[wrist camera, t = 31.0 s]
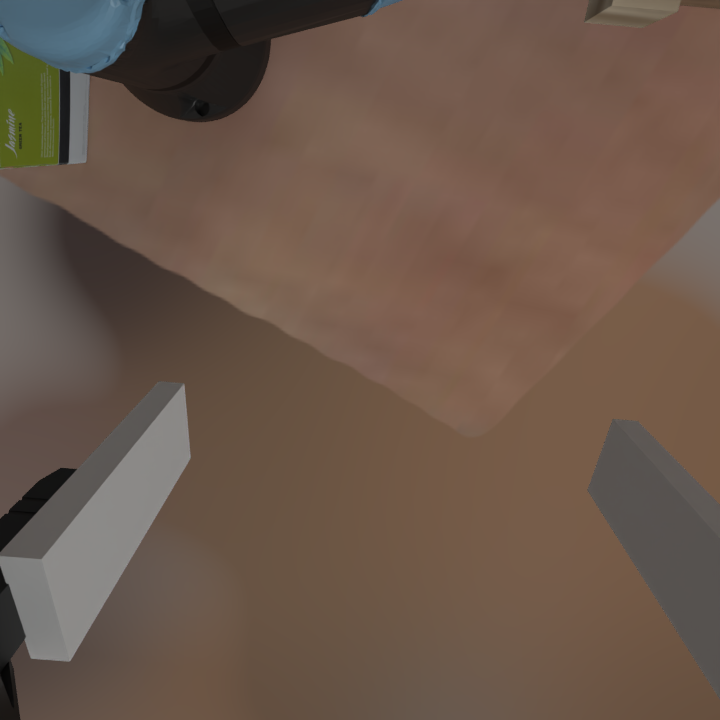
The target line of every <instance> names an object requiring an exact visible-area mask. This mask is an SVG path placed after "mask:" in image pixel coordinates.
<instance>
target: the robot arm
mask: <svg viewBox="0 0 720 720" xmlns="http://www.w3.org/2000/svg"><path fill="white" fill-rule="evenodd" d="M399 1H402V0H0V37H1V38H2V39H3V40H5V41H6V42H8V43H9V44H11V45H13V46H14V47H16V48H17V49H19V50H21V51H23V52H25V53H27V54H29V55H31V56H33V57H35V58H38V59H40V60H42V61H43V62H45V63H47V64H48V65H51V66H53V67H54V68H58V69H62V70H64V71H66V72H68V71H71V72H73V73H75V74H77V73H84V74H87V75H91V76H95V77H99V78H103V79H107V80H111V81H115V82H119V83H123V84H124V86H125V87H126V88H127V89H128V90H129V91H130V92H131V93H132V94H133V95H134V96H135V97H137V98H138V99H139V100H140V101H141V102H143V103H144V104H146V105H147V106H149V107H150V108H152V109H154V110H155V111H157V112H159V113H161V114H164V115H166V116H169V117H172V118H175V119H180V120H185V121H192V122H208V121H214V120H218V119H221V118H224V117H226V116H228V115H230V114H232V113H234V112H235V111H237V110H238V109H240V108H241V107H242V106H243V105H244V104H245V103H246V102H247V101H248V100H249V99H250V98H251V97H252V96H253V94H254V93H255V91H256V90H257V88H258V86H259V85H260V83H261V81H262V79H263V76H264V74H265V71H266V67H267V64H268V60H269V54H270V46H271V39H273V38H277V37H281V36H285V35H288V34H292V33H296V32H300V31H304V30H308V29H312V28H316V27H319V26H323V25H327V24H331V23H335V22H339V21H343V20H347V19H350V18H354V17H358V16H361V17H366V16H368V15H372V14H373V13H375V12H376V11H377V10H378V9H379V8H382V7H385V6H388V5H391V4H393V3H396V2H399ZM190 458H191V457H190V445H189V434H188V423H187V411H186V399H185V387H184V384H183V383H172V382H161V381H159V382H158V383H157V384H156V385H155V386H154V387H153V388H152V389H151V391H150V392H149V393H148V394H147V395H146V396H145V397H144V398H143V399H142V400H141V401H140V402H139V403H138V404H137V406H136V407H135V408H134V409H133V410H132V411H131V412H130V413H129V414H128V415H127V417H125V418H124V419H123V421H122V422H121V423H120V424H119V425H118V426H117V427H116V428H115V429H114V430H113V431H112V432H111V433H110V435H109V436H108V437H107V438H106V439H105V440H104V441H103V442H102V443H101V444H100V445H99V446H98V448H97V449H96V450H95V451H94V452H93V453H92V454H91V455H90V456H89V457H88V459H86V460H85V462H84V463H83V464H82V465H81V466H80V467H79V468H78V469H68V468H60V469H58V470H57V471H55V472H53V473H51V474H50V475H48V476H46V477H45V478H43V479H41V480H40V481H38V482H37V483H36V484H35V485H34V486H33V487H32V488H31V489H30V490H29V491H28V492H27V493H26V494H25V495H24V496H23V497H22V500H19V501H18V502H17V503H16V504H15V505H14V506H13V507H12V508H11V509H10V510H9V513H8V514H5V515H4V516H3V517H2V518H1V519H0V720H20V714H19V706H18V699H17V691H16V684H15V676H14V668H13V666H12V663H11V660H10V659H11V657H12V656H13V654H14V653H15V652H16V650H17V649H18V648H19V646H20V645H21V643H22V642H23V641H24V639H25V642H26V645H27V648H28V651H29V654H30V657H31V658H32V659H45V660H58V661H70V660H71V659H72V657H73V655H74V654H75V652H76V650H77V648H78V647H79V645H80V644H81V642H82V640H83V639H84V637H85V635H86V633H87V632H88V630H89V628H90V627H91V625H92V623H93V622H94V620H95V618H96V617H97V615H98V613H99V612H100V610H101V608H102V607H103V605H104V603H105V601H106V600H107V598H108V596H109V595H110V593H111V591H112V590H113V588H114V586H115V585H116V583H117V581H118V579H119V578H120V576H121V574H122V573H123V571H124V569H125V568H126V566H127V564H128V563H129V561H130V559H131V558H132V556H133V554H134V553H135V551H136V549H137V547H138V546H139V544H140V542H141V541H142V539H143V537H144V536H145V534H146V532H147V531H148V529H149V527H150V526H151V524H152V522H153V521H154V519H155V517H156V515H157V514H158V512H159V510H160V509H161V507H162V505H163V503H164V502H165V500H166V499H167V497H168V495H169V493H170V492H171V490H172V489H173V487H174V485H175V483H176V482H177V480H178V478H179V477H180V475H181V473H182V471H183V470H184V468H185V467H186V465H187V463H188V461H189V460H190ZM588 492H589V493H590V495H591V497H592V498H593V500H594V501H595V503H596V505H597V506H598V508H599V509H600V511H601V513H602V514H603V516H604V517H605V519H606V520H607V522H608V523H609V525H610V527H611V528H612V530H613V531H614V533H615V535H616V536H617V538H618V539H619V541H620V543H621V544H622V546H623V547H624V549H625V550H626V552H627V553H628V555H629V557H630V558H631V560H632V561H633V563H634V565H635V566H636V568H637V569H638V571H639V573H640V574H641V576H642V577H643V579H644V580H645V582H646V584H647V585H648V587H649V588H650V590H651V591H652V593H653V595H654V596H655V598H656V599H657V601H658V602H659V604H660V606H661V607H662V609H663V610H664V612H665V614H666V615H667V617H668V618H669V620H670V621H671V623H672V624H673V626H674V628H675V629H676V631H677V632H678V634H679V636H680V637H681V639H682V640H683V642H684V643H685V645H686V646H687V648H688V650H689V651H690V653H691V654H692V656H693V658H694V659H695V661H696V662H697V664H698V666H699V667H700V669H701V670H702V672H703V674H704V675H705V677H706V678H707V680H708V681H709V683H710V685H711V686H712V687H713V689H714V691H715V692H716V694H717V696H718V697H719V699H720V504H719V503H718V502H717V501H716V500H715V499H714V498H713V497H712V496H711V495H710V494H709V493H708V492H707V491H706V490H705V489H704V488H703V487H702V486H701V485H700V484H699V483H698V482H697V481H696V480H695V479H694V478H693V477H692V476H691V475H690V474H689V473H688V472H687V471H686V470H685V469H684V468H683V467H682V466H681V465H680V464H679V463H678V462H677V461H676V460H675V459H674V458H673V457H672V456H671V455H670V454H669V453H668V452H667V451H666V450H665V448H664V447H663V446H662V445H661V444H659V442H658V441H657V440H656V439H655V438H654V437H653V436H652V435H651V434H650V433H649V432H648V431H647V430H646V429H645V428H644V427H643V426H642V425H641V424H640V423H639V422H638V421H629V420H618V419H613V420H612V423H611V426H610V429H609V431H608V434H607V437H606V440H605V442H604V445H603V448H602V451H601V454H600V456H599V460H598V462H597V465H596V468H595V470H594V473H593V476H592V479H591V482H590V484H589V487H588Z"/></svg>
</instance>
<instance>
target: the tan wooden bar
mask: <svg viewBox="0 0 720 720" xmlns="http://www.w3.org/2000/svg"><path fill="white" fill-rule="evenodd" d="M680 2H681V0H589V4H588V8H587V12H586V16H585V21H584V22H585V23H595V24H606V25H617V26H627V27H638V28H643V27H645V26H648V25H650V24H652V23H654V22H656V21H659V20H661V19H663V18H665V17H667V16H669V15H672V14H674V13H676V12H678V9H679V5H680Z"/></svg>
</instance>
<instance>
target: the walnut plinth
mask: <svg viewBox="0 0 720 720" xmlns="http://www.w3.org/2000/svg"><path fill="white" fill-rule="evenodd" d="M680 5H684V6H695V7H706V8H717V9H720V0H681V2H680Z"/></svg>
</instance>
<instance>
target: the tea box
mask: <svg viewBox="0 0 720 720" xmlns="http://www.w3.org/2000/svg"><path fill="white" fill-rule="evenodd" d="M89 86H90V75H87V74H84V73H77V74H75V73H73V72H71V71H68V72H66V71H64V70H62V69H58V68H54V67H53V66H51V65H48V64H47V63H45V62H43V61H42V60H40V59H38V58H35V57H33V56H31V55H29V54H27V53H25V52H23V51H21V50H19V49H17V48H16V47H14V46H13V45H11V44H9V43H8V42H6V41H5V40H3V39H2V38H1V37H0V169H9V168H18V167H36V166H49V165H62V164H77V163H85V162H86V159H87V139H88V113H89Z"/></svg>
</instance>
